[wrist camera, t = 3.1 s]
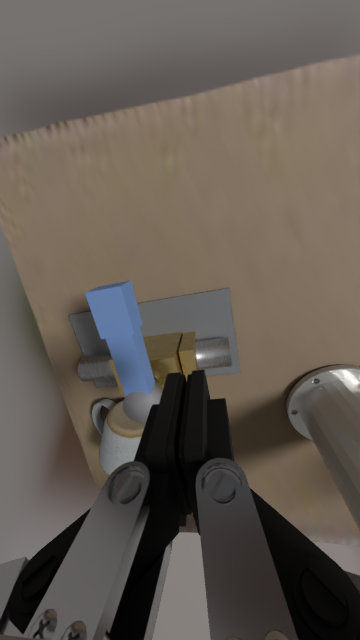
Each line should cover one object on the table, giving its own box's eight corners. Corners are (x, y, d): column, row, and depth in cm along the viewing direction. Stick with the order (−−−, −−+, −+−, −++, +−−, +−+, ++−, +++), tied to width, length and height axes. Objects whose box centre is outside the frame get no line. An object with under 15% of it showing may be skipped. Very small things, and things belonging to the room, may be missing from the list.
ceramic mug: (162, 401, 34) (149, 445, 27) (155, 439, 37) (141, 487, 30) (97, 385, 34) (67, 423, 27) (95, 423, 37) (68, 466, 30)
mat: (229, 287, 26) (229, 288, 26) (239, 371, 30) (240, 373, 30) (69, 314, 30) (68, 315, 30) (97, 386, 34) (96, 387, 34)
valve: (225, 325, 28) (232, 358, 20) (231, 363, 30) (239, 406, 22) (86, 344, 31) (46, 378, 24) (98, 377, 33) (65, 418, 26)
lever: (133, 280, 18) (124, 285, 16) (167, 405, 23) (163, 423, 20) (95, 287, 19) (81, 293, 17) (135, 408, 23) (128, 425, 21)
